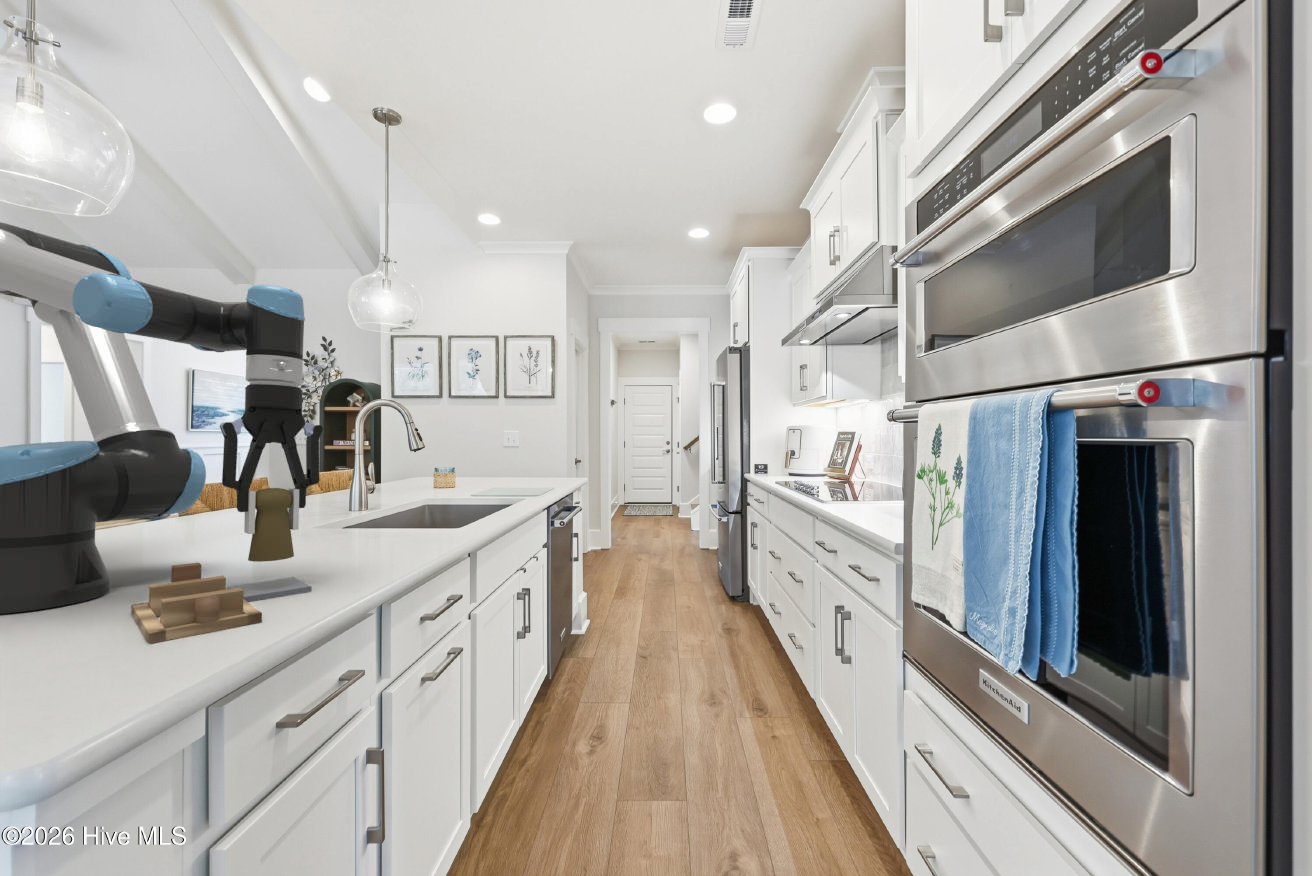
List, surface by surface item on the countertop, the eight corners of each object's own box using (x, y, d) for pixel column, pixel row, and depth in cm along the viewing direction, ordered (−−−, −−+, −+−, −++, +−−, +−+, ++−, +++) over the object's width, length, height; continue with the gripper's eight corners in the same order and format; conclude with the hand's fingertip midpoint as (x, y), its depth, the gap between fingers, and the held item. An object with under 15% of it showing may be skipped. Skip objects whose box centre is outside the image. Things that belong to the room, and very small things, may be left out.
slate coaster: (227, 591, 87) (228, 586, 87) (293, 581, 94) (293, 576, 94) (242, 602, 81) (242, 597, 81) (311, 591, 88) (311, 586, 88)
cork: (270, 562, 84) (272, 490, 84) (237, 560, 85) (239, 489, 85) (303, 555, 90) (304, 487, 90) (272, 553, 91) (273, 486, 91)
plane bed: (131, 613, 75) (132, 569, 75) (230, 597, 84) (231, 558, 84) (148, 643, 64) (150, 592, 64) (261, 622, 72) (262, 576, 72)
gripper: (207, 377, 79) (203, 540, 78) (345, 388, 92) (342, 527, 92) (196, 381, 83) (193, 534, 83) (329, 391, 97) (326, 523, 97)
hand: (271, 530), depth 87 cm, fingers closed on cork, 5 cm apart
